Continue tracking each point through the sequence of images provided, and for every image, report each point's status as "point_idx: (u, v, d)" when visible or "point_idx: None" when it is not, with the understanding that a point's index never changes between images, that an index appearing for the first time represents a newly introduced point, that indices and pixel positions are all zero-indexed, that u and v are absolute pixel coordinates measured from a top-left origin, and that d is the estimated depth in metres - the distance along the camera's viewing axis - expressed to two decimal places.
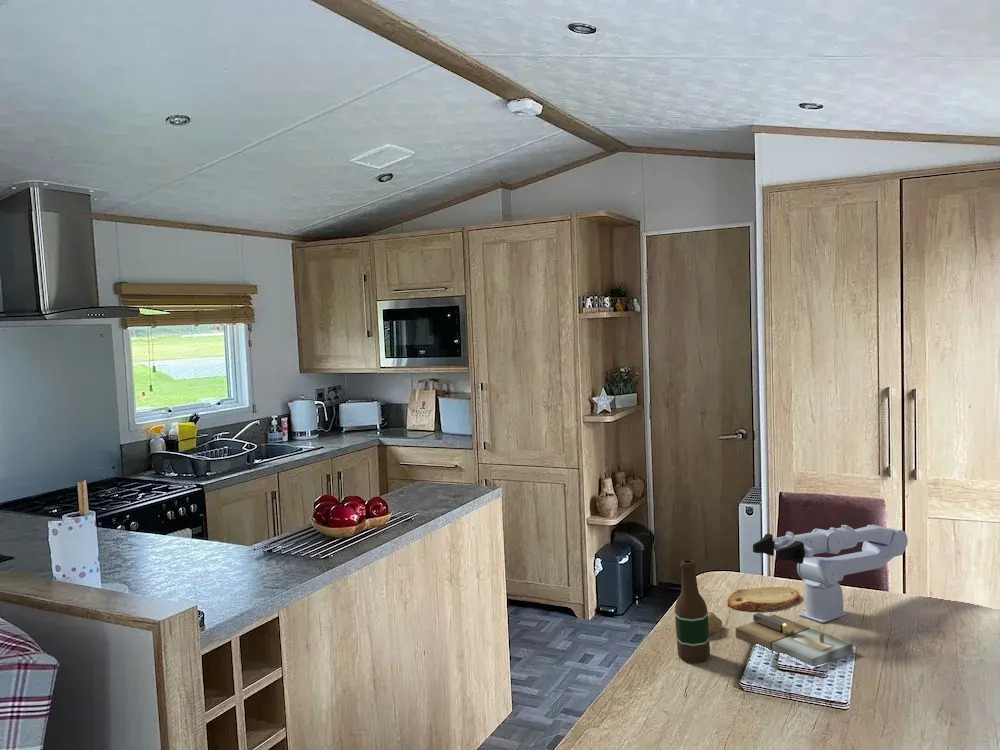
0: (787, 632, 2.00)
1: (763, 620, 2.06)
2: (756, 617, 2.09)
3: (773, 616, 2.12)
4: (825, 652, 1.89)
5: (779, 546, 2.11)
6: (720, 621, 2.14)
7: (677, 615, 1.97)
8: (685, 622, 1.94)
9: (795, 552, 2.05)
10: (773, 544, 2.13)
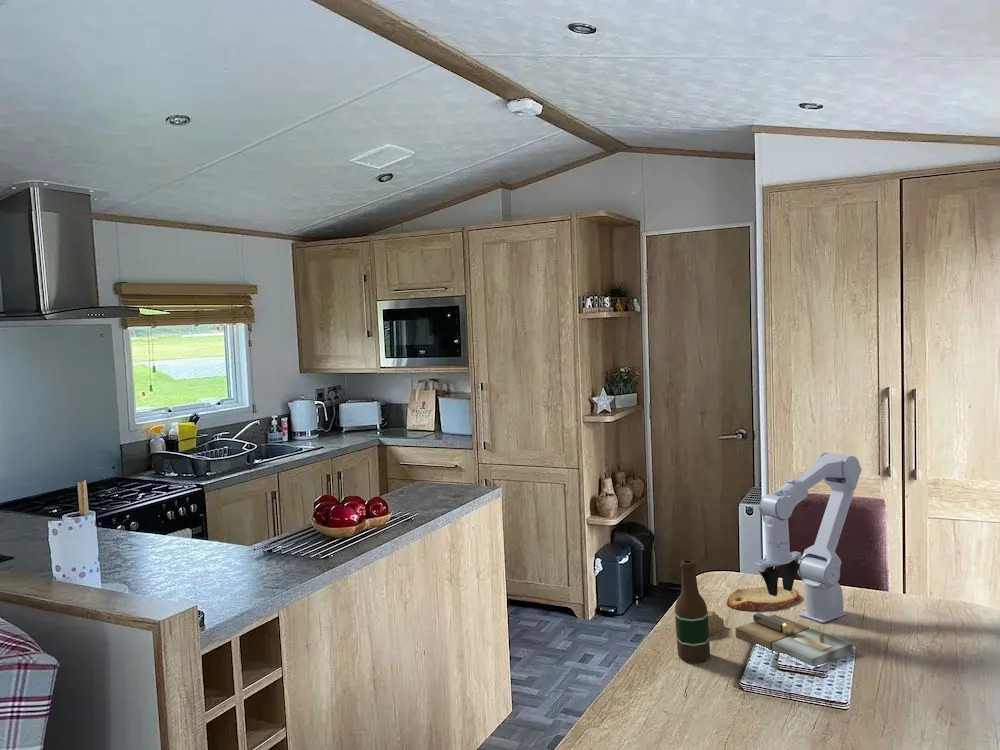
0: (787, 632, 2.00)
1: (763, 620, 2.06)
2: (756, 617, 2.09)
3: (773, 616, 2.12)
4: (825, 652, 1.89)
5: None
6: (722, 620, 2.14)
7: (677, 615, 1.97)
8: (685, 622, 1.94)
9: None
10: (785, 563, 2.10)
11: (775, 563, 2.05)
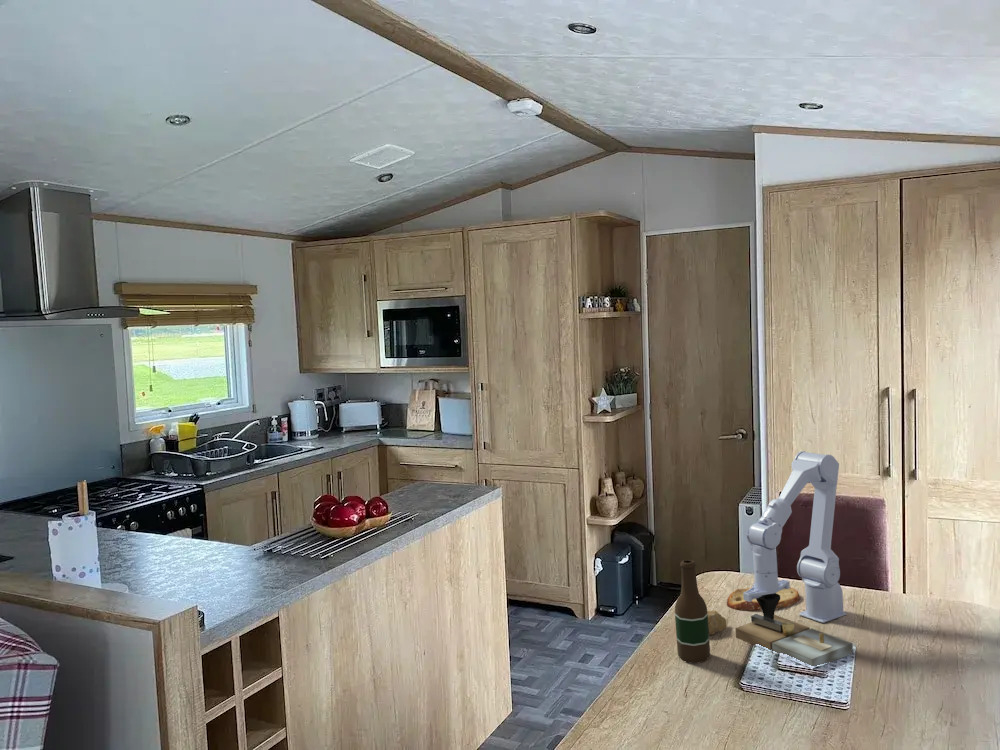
0: (788, 632, 2.00)
1: (762, 621, 2.06)
2: (754, 618, 2.08)
3: None
4: (825, 652, 1.89)
5: None
6: (724, 620, 2.14)
7: (677, 615, 1.97)
8: (685, 622, 1.94)
9: None
10: None
11: (763, 593, 2.03)
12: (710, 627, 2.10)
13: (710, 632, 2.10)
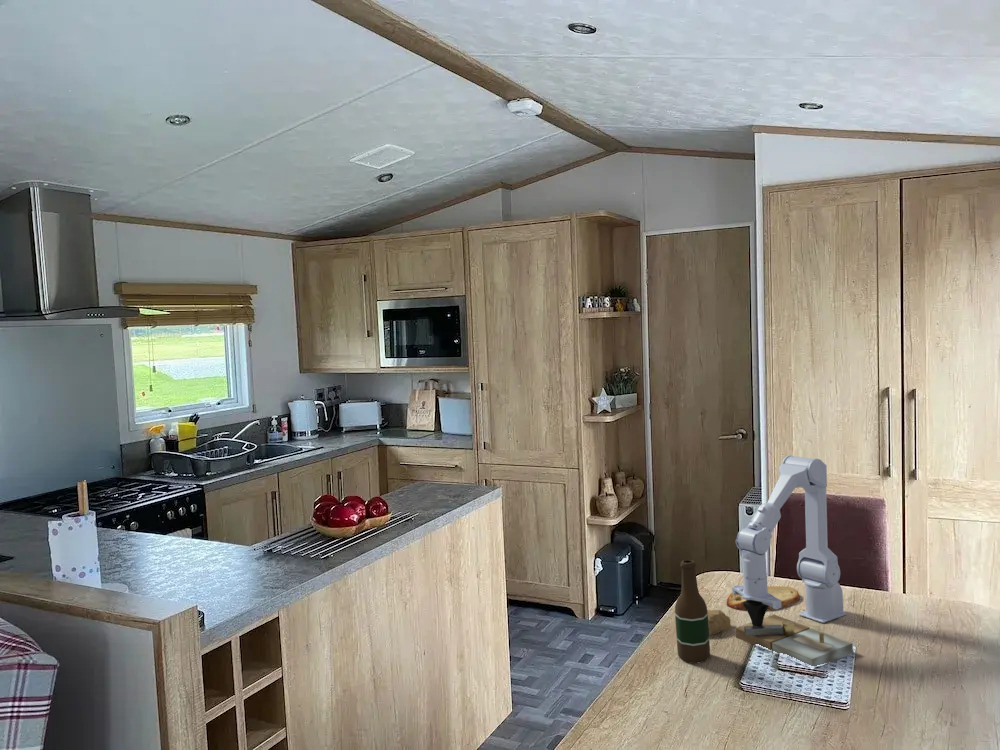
0: (793, 631, 2.00)
1: (760, 630, 2.00)
2: (750, 630, 2.01)
3: (773, 616, 2.12)
4: (825, 652, 1.89)
5: None
6: (728, 619, 2.15)
7: (677, 615, 1.97)
8: (685, 622, 1.95)
9: None
10: None
11: None
12: (714, 626, 2.10)
13: (714, 631, 2.10)
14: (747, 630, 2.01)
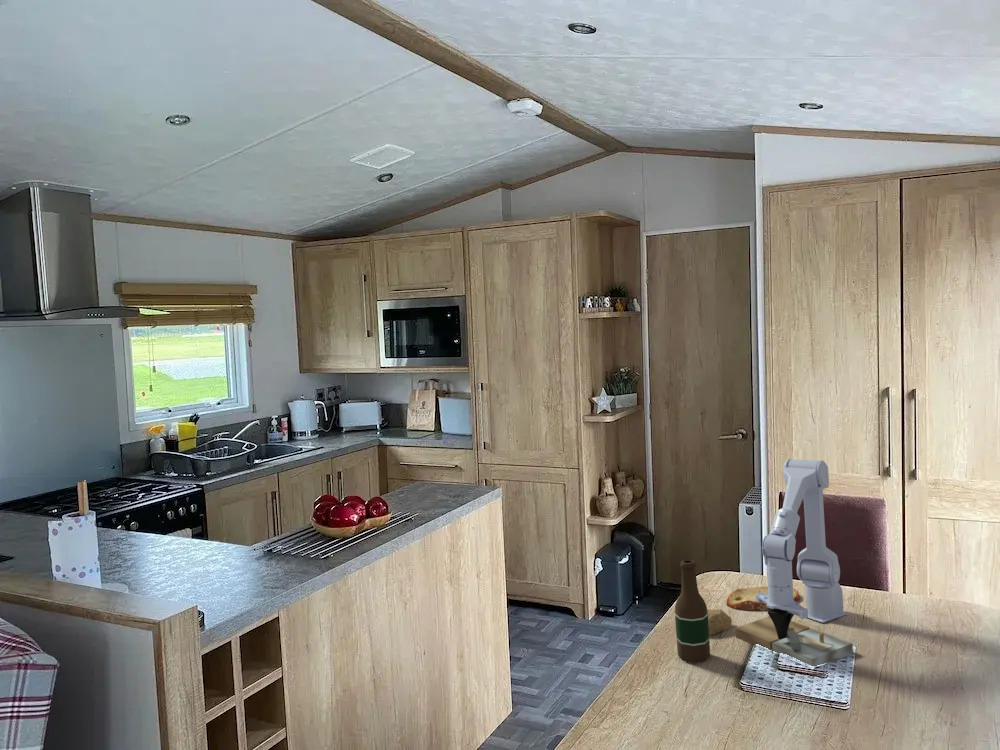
0: None
1: None
2: (799, 642, 1.91)
3: None
4: (825, 652, 1.89)
5: None
6: (730, 618, 2.15)
7: (677, 615, 1.97)
8: (685, 622, 1.95)
9: None
10: (780, 610, 1.96)
11: None
12: (715, 626, 2.10)
13: (715, 631, 2.10)
14: None
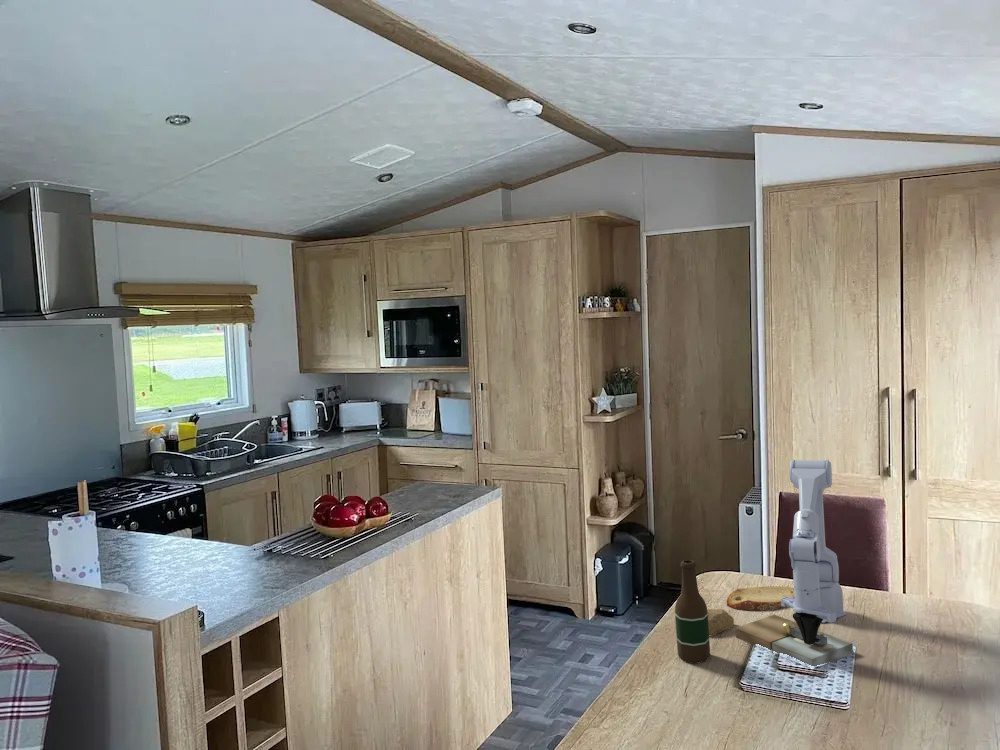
0: None
1: None
2: None
3: (773, 616, 2.12)
4: (825, 652, 1.89)
5: None
6: (732, 618, 2.15)
7: (677, 615, 1.97)
8: (685, 622, 1.94)
9: None
10: (806, 614, 1.93)
11: None
12: (718, 625, 2.10)
13: (718, 630, 2.10)
14: None
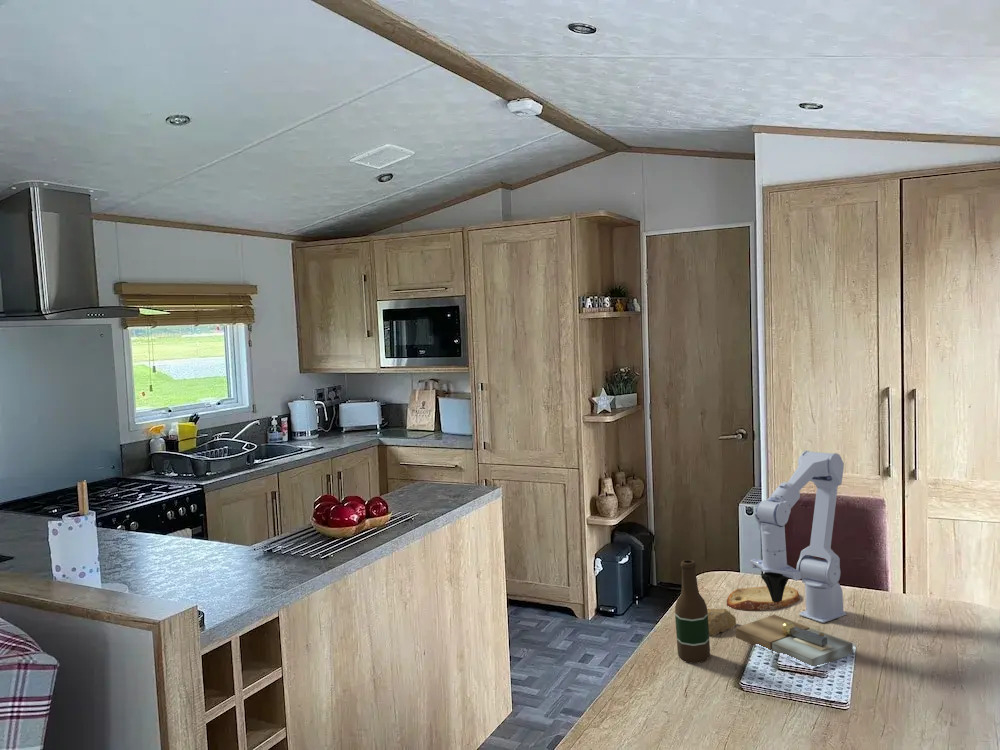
0: None
1: None
2: None
3: (773, 616, 2.12)
4: (825, 652, 1.89)
5: None
6: (734, 618, 2.15)
7: (677, 615, 1.97)
8: (685, 622, 1.94)
9: None
10: (774, 574, 2.03)
11: None
12: (720, 625, 2.11)
13: (720, 630, 2.11)
14: None
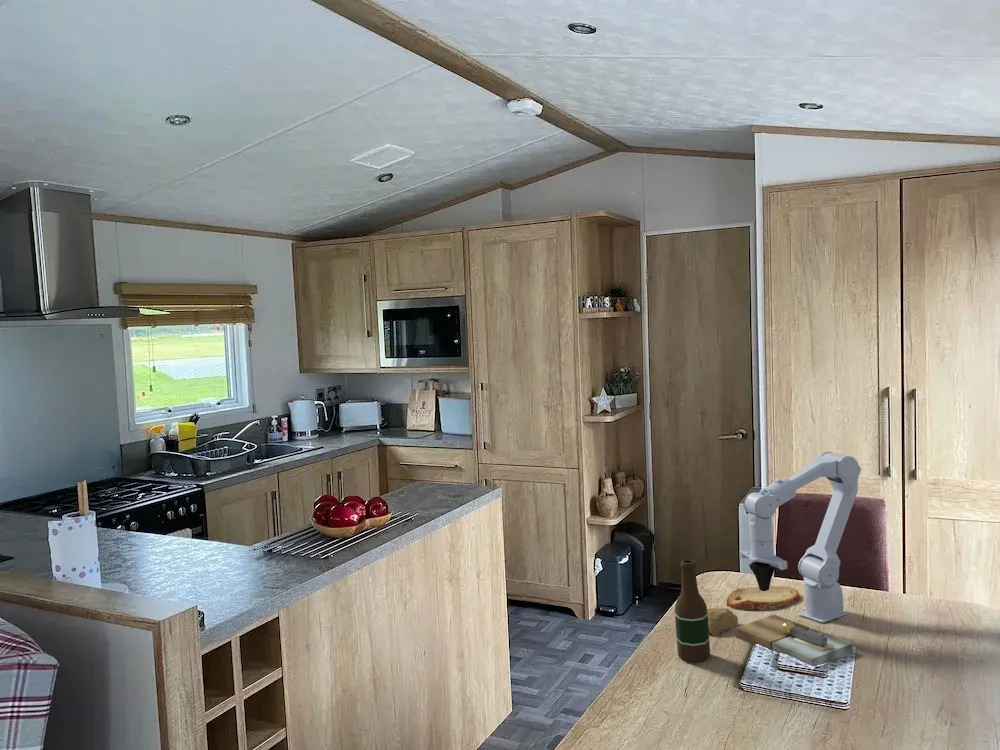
0: None
1: None
2: None
3: (773, 616, 2.12)
4: (825, 652, 1.89)
5: None
6: (736, 617, 2.16)
7: (677, 615, 1.97)
8: (685, 622, 1.94)
9: None
10: (761, 563, 2.12)
11: None
12: (722, 624, 2.11)
13: (722, 629, 2.11)
14: None
